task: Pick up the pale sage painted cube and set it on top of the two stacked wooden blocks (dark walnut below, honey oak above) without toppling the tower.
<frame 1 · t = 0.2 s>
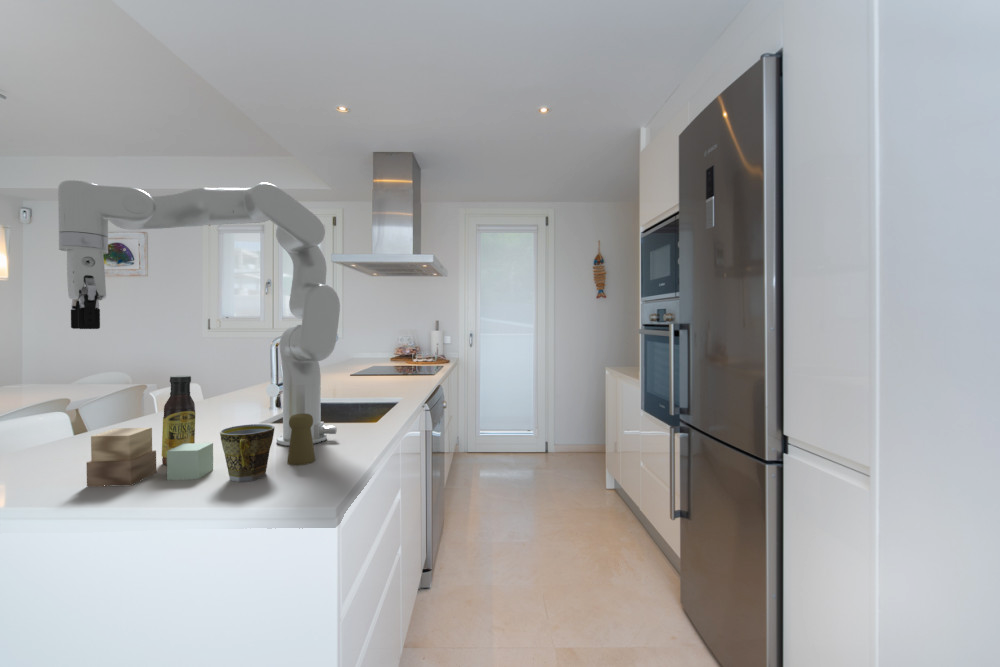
hand: (85, 328, 96), 31 cm above the countertop, tool pointing down, fingers open, 9 cm apart
walnut block: (123, 480, 96), on the countertop, touching oak block
cork: (301, 462, 109), on the countertop
ceramic cup: (247, 480, 97), on the countertop
oak block: (123, 456, 96), point 5 cm above the countertop, touching walnut block
sage block: (191, 475, 99), on the countertop
sauce bottle: (179, 463, 108), on the countertop
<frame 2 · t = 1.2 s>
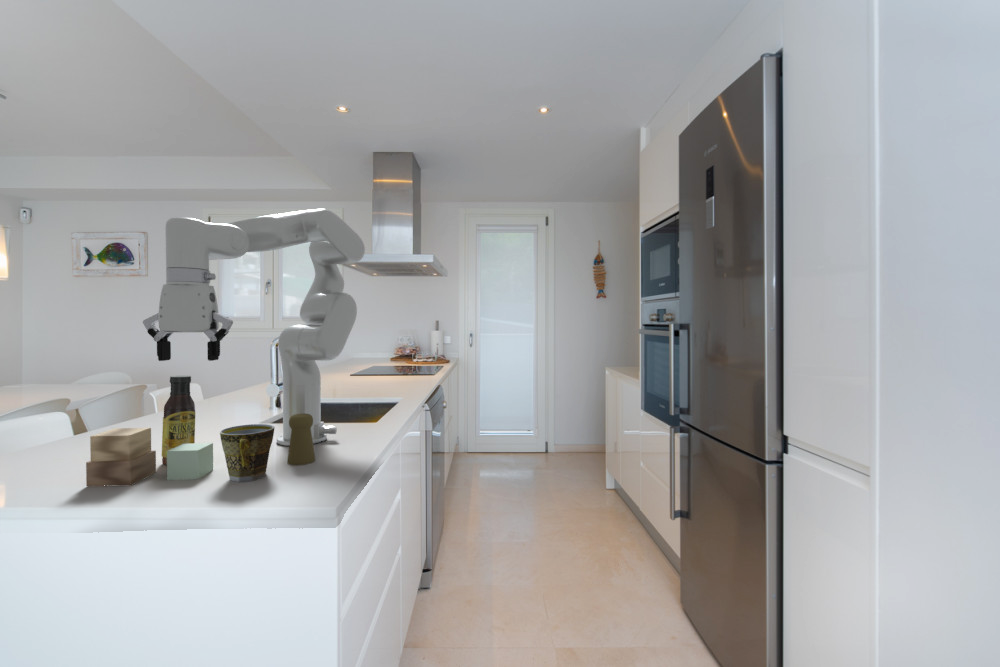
hand: (189, 360, 99), 24 cm above the countertop, tool pointing down, fingers open, 9 cm apart
walnut block: (122, 480, 96), on the countertop
oak block: (122, 456, 96), point 5 cm above the countertop
everything else where it was.
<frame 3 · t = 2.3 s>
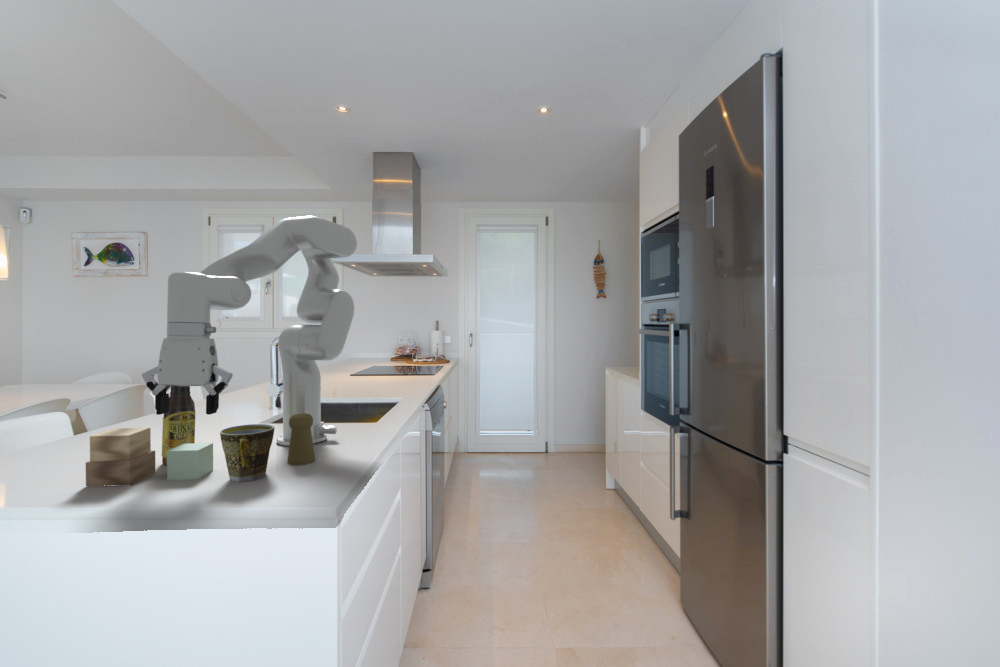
hand: (187, 413, 98), 13 cm above the countertop, tool pointing down, fingers open, 9 cm apart
walnut block: (122, 480, 96), on the countertop, touching oak block
oak block: (121, 456, 96), point 5 cm above the countertop, touching walnut block
everything else where it was.
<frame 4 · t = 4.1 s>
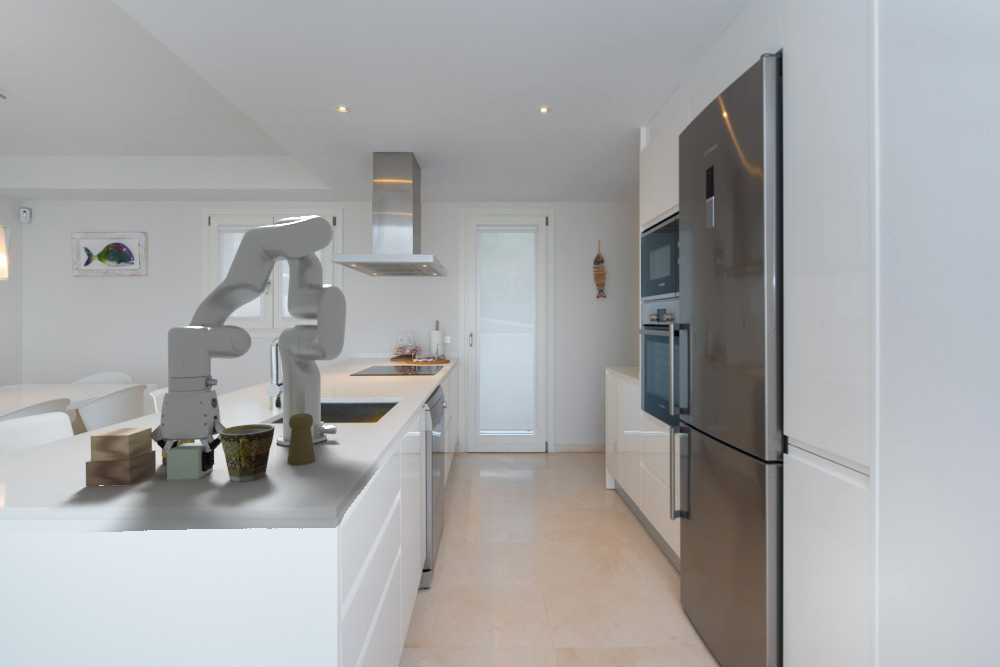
hand: (190, 469, 99), 1 cm above the countertop, tool pointing down, fingers closed on sage block, 6 cm apart
sage block: (190, 474, 99), on the countertop, touching gripper
everything else where it was.
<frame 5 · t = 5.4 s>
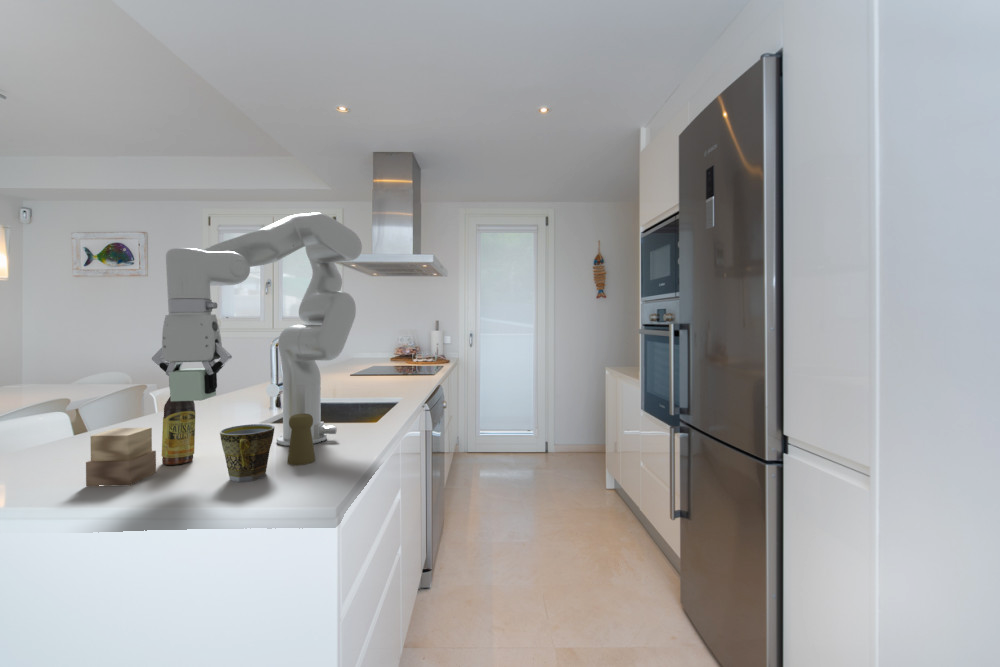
hand: (193, 392, 100), 17 cm above the countertop, tool pointing down, fingers closed on sage block, 6 cm apart
sage block: (194, 398, 100), point 16 cm above the countertop, touching gripper
everything else where it was.
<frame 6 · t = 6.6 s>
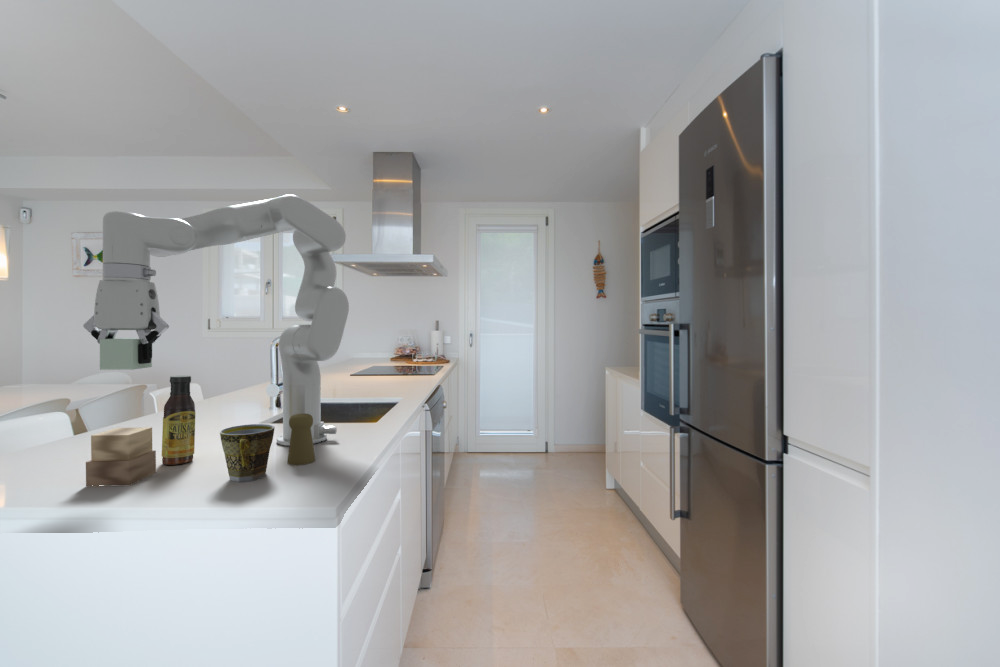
hand: (126, 362, 96), 24 cm above the countertop, tool pointing down, fingers closed on sage block, 6 cm apart
sage block: (126, 368, 96), point 23 cm above the countertop, touching gripper
everything else where it was.
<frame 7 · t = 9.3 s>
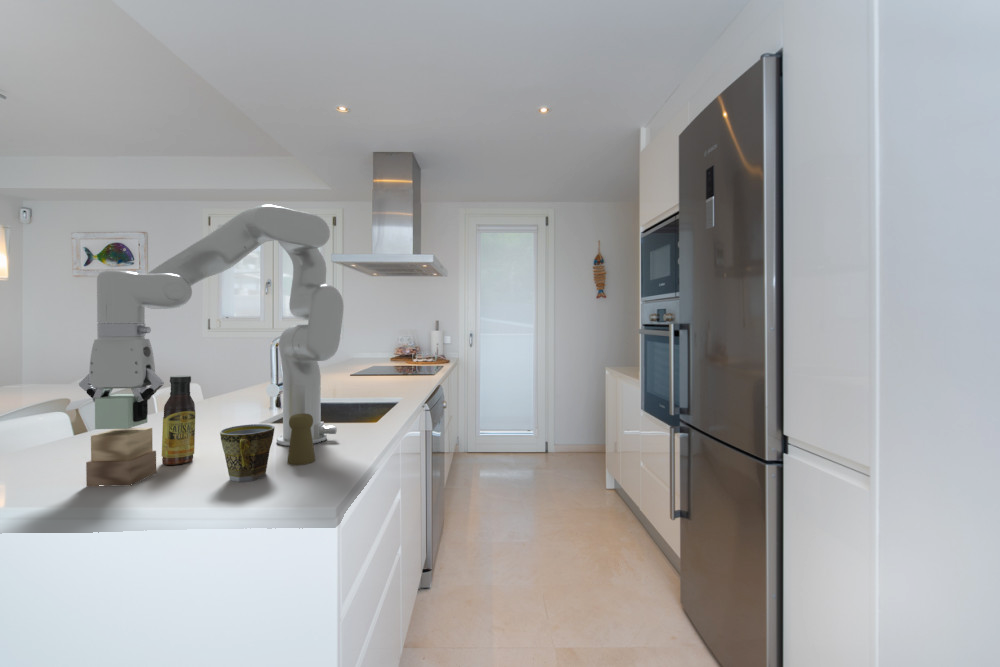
hand: (122, 419, 96), 12 cm above the countertop, tool pointing down, fingers closed on sage block, 6 cm apart
walnut block: (122, 480, 96), on the countertop
oak block: (123, 456, 96), point 5 cm above the countertop
sage block: (122, 425, 96), point 11 cm above the countertop, touching gripper
everything else where it was.
when the fingers open (12 cm above the countertop, at t = 10.5 s): sage block stays where it is, resting on oak block.
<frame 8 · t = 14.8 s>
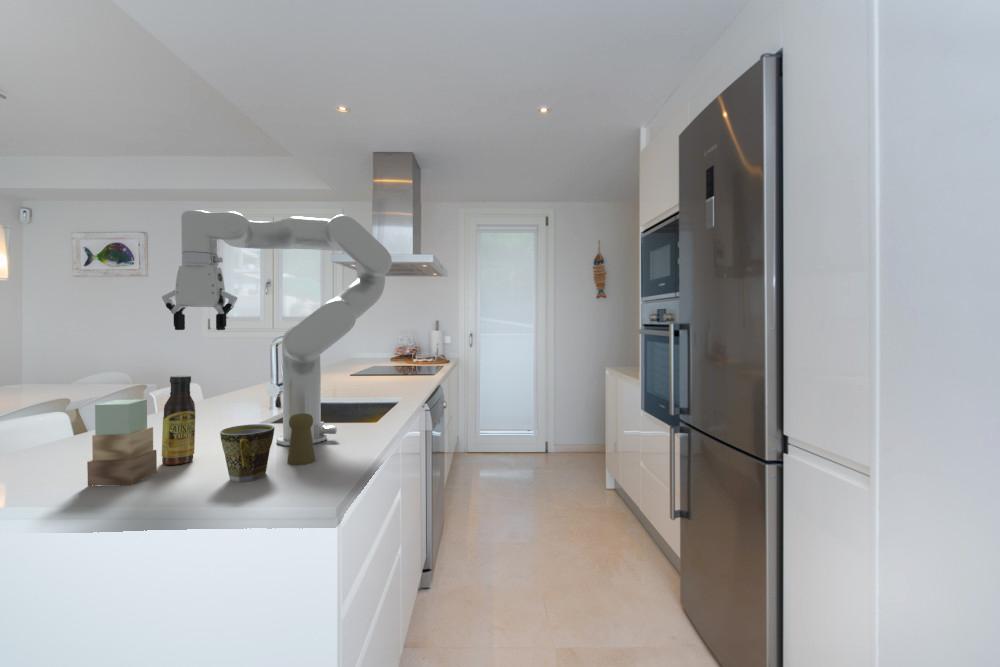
hand: (200, 329, 118), 30 cm above the countertop, tool pointing down, fingers open, 9 cm apart
walnut block: (123, 479, 96), on the countertop, touching oak block
oak block: (124, 455, 96), point 5 cm above the countertop, touching sage block, walnut block
sage block: (122, 431, 96), point 10 cm above the countertop, touching oak block
everything else where it was.
at the end: sage block 0.4 cm off-centre on the oak block, point 5.0 cm above the oak block's base; sage block tilted 0°; oak block tilted 0° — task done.
